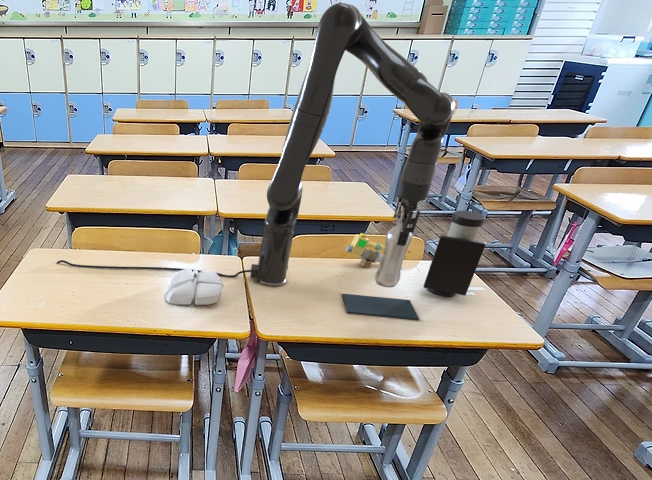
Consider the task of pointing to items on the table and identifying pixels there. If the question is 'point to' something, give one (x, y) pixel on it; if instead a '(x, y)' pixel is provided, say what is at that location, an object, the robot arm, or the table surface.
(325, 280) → the table surface
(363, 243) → the toy
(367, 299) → the mat
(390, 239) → the plastic bottle
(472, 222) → the light fixture
